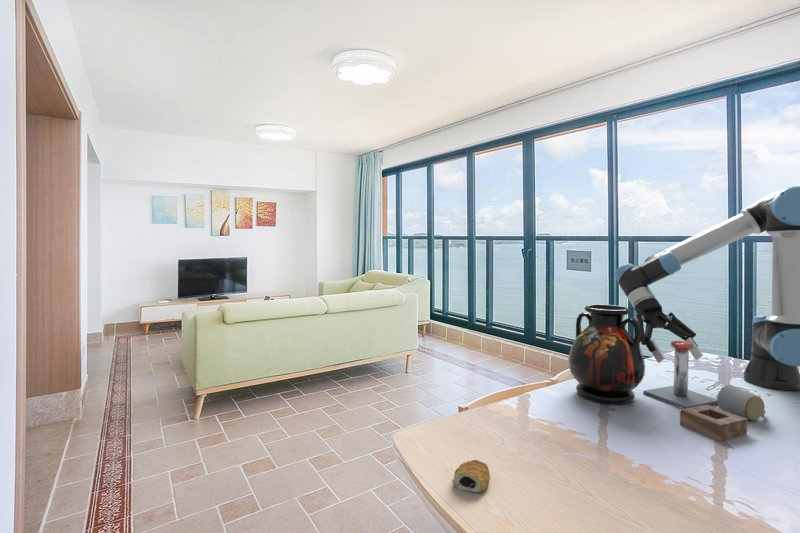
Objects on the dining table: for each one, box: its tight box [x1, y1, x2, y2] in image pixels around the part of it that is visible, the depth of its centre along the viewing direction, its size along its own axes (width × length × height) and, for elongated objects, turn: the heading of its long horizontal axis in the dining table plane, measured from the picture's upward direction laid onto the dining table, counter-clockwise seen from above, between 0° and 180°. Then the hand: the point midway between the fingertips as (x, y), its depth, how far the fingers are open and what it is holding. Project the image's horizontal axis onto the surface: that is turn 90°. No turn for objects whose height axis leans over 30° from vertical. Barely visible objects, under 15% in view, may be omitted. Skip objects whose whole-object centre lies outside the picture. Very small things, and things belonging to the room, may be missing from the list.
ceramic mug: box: [716, 384, 766, 422], centre depth 118 cm, size 11×8×8 cm
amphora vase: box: [567, 304, 646, 405], centre depth 132 cm, size 22×22×28 cm
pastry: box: [451, 459, 491, 494], centre depth 86 cm, size 9×7×4 cm
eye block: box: [679, 405, 749, 442], centre depth 109 cm, size 10×10×4 cm
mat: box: [643, 385, 718, 409], centre depth 131 cm, size 14×14×1 cm
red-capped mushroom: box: [670, 340, 693, 397], centre depth 130 cm, size 6×6×16 cm
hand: (680, 359), depth 130 cm, fingers open, 13 cm apart
